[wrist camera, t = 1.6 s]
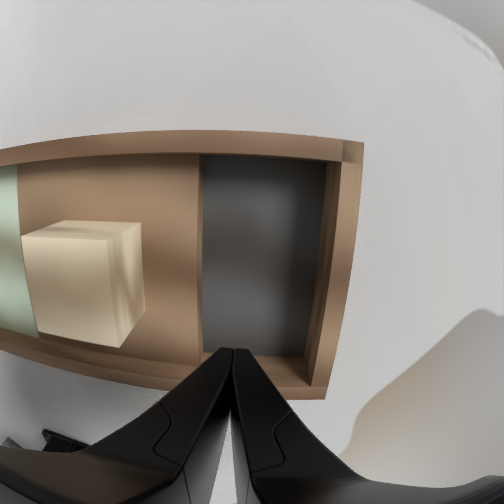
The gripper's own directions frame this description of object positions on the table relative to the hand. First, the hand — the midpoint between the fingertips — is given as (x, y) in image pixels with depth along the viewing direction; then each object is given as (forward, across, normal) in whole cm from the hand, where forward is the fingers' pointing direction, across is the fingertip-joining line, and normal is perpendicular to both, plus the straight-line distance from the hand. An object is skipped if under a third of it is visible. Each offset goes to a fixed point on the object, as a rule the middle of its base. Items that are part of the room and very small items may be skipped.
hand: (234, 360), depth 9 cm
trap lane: (+9, +12, 0) cm, 16 cm away
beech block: (+7, +8, 0) cm, 11 cm away
